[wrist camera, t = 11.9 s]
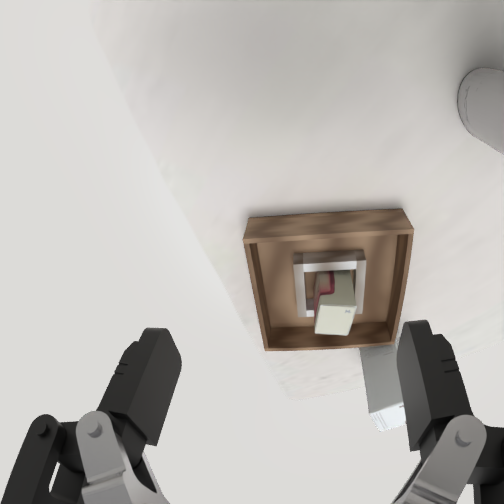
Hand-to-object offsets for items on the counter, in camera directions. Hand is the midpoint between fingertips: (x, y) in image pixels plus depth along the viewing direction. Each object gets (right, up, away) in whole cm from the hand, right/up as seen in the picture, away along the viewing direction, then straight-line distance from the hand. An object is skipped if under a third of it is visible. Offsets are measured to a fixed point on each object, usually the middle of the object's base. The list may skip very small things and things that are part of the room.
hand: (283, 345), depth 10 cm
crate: (+9, 0, +33) cm, 34 cm away
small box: (+9, 0, +32) cm, 34 cm away
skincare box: (+20, -12, +39) cm, 45 cm away
